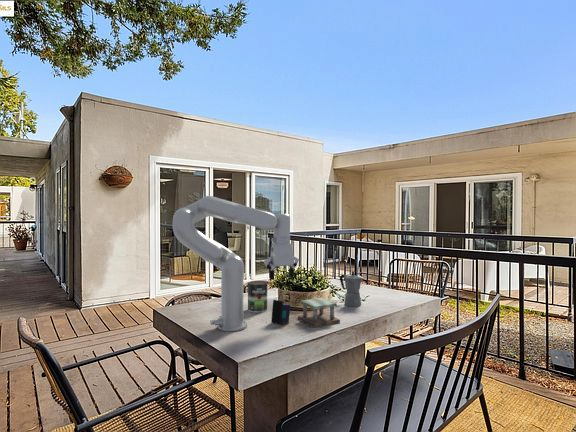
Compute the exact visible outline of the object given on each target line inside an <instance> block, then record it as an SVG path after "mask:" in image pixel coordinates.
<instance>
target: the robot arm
mask: <svg viewBox="0 0 576 432" xmlns="http://www.w3.org/2000/svg"><path fill="white" fill-rule="evenodd" d="M208 217H212V218H216V219H219V220H222V221H226V222H230V223H235V224H239V225H246V226H250V227H255V228H257V229H261V230H263V231H265V230H266V231H272V230H273V237H272V238H270V241H271V242H272V245H271V249H270V257H268V258H266V259H264V261H263V263H264V265H265V267H266V268H267V269H268V272H269V273H268V275H269V276H268V277H269V279H270V280H275V270H274V269H275V268H276V267H289V268H288V277H289V278H292V279H293V278H294V275H295V271H294V270H295V268H296V267H297V266H298V263H299V262H300V259H299V258H298V257H296V256H294V248H293V244H292V243H291V216H290V214H289V213H275V214H273V213H271V212H268V211H265V210H260V209H258V208H253V207H250V206H246V205H244V204H241V203H238V202H232V201H230V200H227V199H223V198H219V197H216V196H212V195H205V196H203V197H201V198H200V199H198V200H197V201H195V202H193V203H190V204H188V205H186V206H184V207H181V208H179V209H177V210H176V211H175V212H174V214H173V216H172V232H173V233H174V236H175V238H176V239H177V241H178V242H179V243H181V244H182V245H183V246H184V247H186V249H189V250H190V251H191V252H193V253H194V254H195V255H197V256H199V257H200V258H202V259H203V261H205V262H207V263H210V264H212V265H213V266H215V267H216V268H218V269H220V270H221V278H220V279H221V284H220V285H221V287H220V288H221V289H220V292H221V296H220V297H221V299H220V300H221V301H220V302H221V303H220V307H221V310H220V311H221V316H219V318H217V319H211V320H210V321H209V322H210V323H209V324H210V325H213V326H217V329H219V330H220V331H223V332H237V331H242V330H244V329H246V328H247V327H248V323H247V322H246V321H244V277H245V264H244V260H243V259H242V257H240V256H239V255H238V254H236V253H235V252H233V251H231V250H230V249H229V248H227V247H225V246H224V245H223V244H221V243H220V242H218V241H217V240H214V239H211V238H210V237H208V236H206V235H205V234H204V233H202V232H201V231H200V230H198V229H197V228H196V226H195V225H194V224H196V223H198V222H199V221H201V220H204V219H206V218H208ZM269 263H270V264H269Z"/></svg>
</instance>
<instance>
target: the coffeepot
mask: <svg viewBox="0 0 576 432" xmlns="http://www.w3.org/2000/svg"><path fill="white" fill-rule="evenodd" d="M339 281H340V285H341V289H343V290H346V292H345V297H344V303H343V304H344V305H345V306H346V307H352V306H353V307H357V308H358V307H360V306H362V300H361V295H360V294H361V293H360V289H361V283H362V282H363V281H364V278H362V276H358V275H355V271H351V274H350V275H348V274H340V276H339ZM353 307H352V308H353Z"/></svg>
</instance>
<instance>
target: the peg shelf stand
mask: <svg viewBox="0 0 576 432" xmlns="http://www.w3.org/2000/svg"><path fill="white" fill-rule="evenodd" d="M300 304H301V305H302V307H303V308H302V310H303V311H302V314H301V315H300V314H299V315H297V320H299V321H301V322H303V323H304V324H306V325H308V326H310V327H312V328H319V327H325V326H330V325H336V324H340V323H341V319H339V318H337V317H335V307H337V306H338V304H337V303H336V302H333V301H331V300H329V299H326V298H324V297H320V298H319V297H317V298H312V299H311V298H309V299H304V300H303V299H302V300H300ZM308 308H311V309H312V310H313V312H312V313H308ZM325 308H326V309H327V308H329V313H327V312H324V309H325ZM318 310H319V312H318Z"/></svg>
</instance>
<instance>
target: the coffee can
mask: <svg viewBox="0 0 576 432" xmlns="http://www.w3.org/2000/svg"><path fill="white" fill-rule="evenodd" d="M268 284H269V283H268V281H263V280H253V281H249V282H247V311H248V312H249V313H257V314H259V313H265V312H267V311H268Z"/></svg>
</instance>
